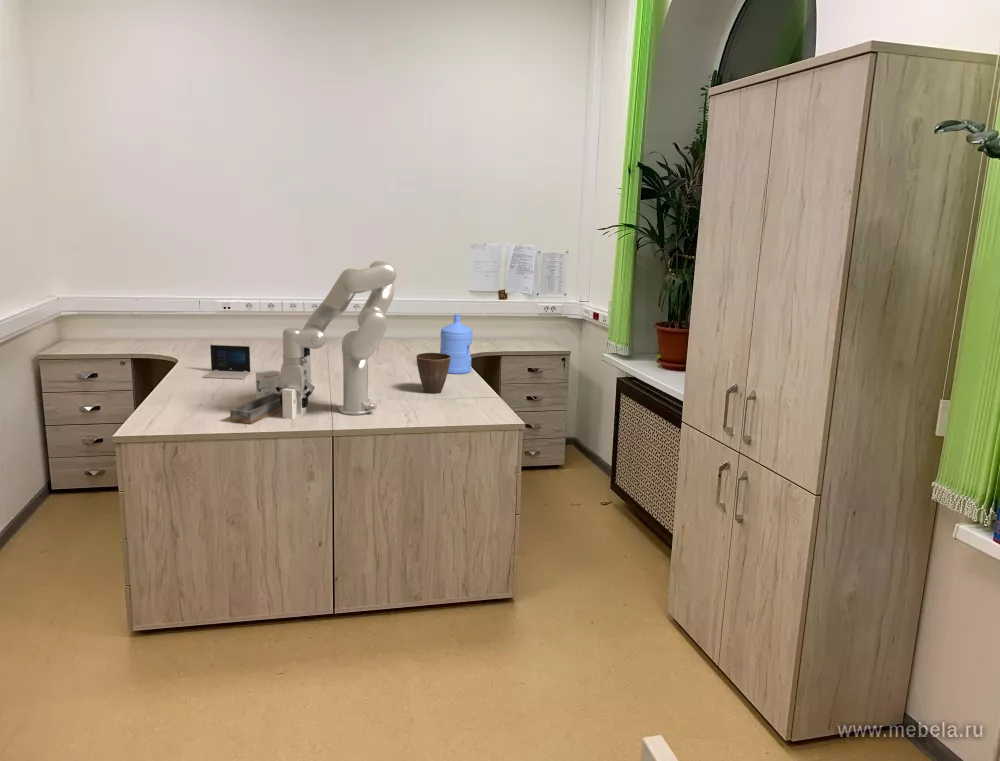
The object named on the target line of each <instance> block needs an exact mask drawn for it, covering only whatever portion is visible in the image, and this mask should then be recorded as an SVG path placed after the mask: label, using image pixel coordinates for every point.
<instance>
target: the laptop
mask: <svg viewBox="0 0 1000 761" xmlns="http://www.w3.org/2000/svg"><path fill="white" fill-rule="evenodd" d="M209 348H210V366H211V368H210V369H211V370H210V371H209V372H208V373H206V374H204V375H203V376H202V378H205V379H228V380H242V379H244V378H246V377H247V376H249V375H250V374H251V371H252V370H251V354H250V353H251V348H250V346H249V345H229V344H228V345H227V344H226V345H225V344H224V345H223V344H210V347H209Z"/></svg>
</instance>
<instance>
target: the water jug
mask: <svg viewBox="0 0 1000 761" xmlns="http://www.w3.org/2000/svg"><path fill="white" fill-rule="evenodd" d="M472 344H473V329H472V328H471V327H468V326H467V325H464V324H462V323H461V314H457V313H456V314H455V313H454V314H453V323H450V324H447V325H446V326H443V327H442V328H441V329H440V349H439V353H442V354H447V355H450V356H451V358H450V364H449V369H448V373H447V374H451V375H463V374H468V373H470V372H471V371H472V356H471V355H470V349H471V348H470V346H471V345H472Z"/></svg>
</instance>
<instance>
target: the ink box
mask: <svg viewBox="0 0 1000 761" xmlns="http://www.w3.org/2000/svg"><path fill="white" fill-rule="evenodd" d="M280 372H281V371H279V370H275V369H271V370H270V369H269V370H263V371H257V372H255V387H256V390H255V392H256V394H255V395H256V398H255V400H256V399H258V398H261V397H263V396H266V395H269V394H271V393H279V392H278V391H277V390H276V387H275V386H274V384H273V383H274V382H275V381H277V380H279V379H280ZM279 386H280V383H279Z"/></svg>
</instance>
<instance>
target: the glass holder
mask: <svg viewBox="0 0 1000 761" xmlns="http://www.w3.org/2000/svg"><path fill="white" fill-rule="evenodd" d="M304 359H306V360H307V362H306V363H304V365H306V367H307V371H308V379H309V383H310V384H312V382H313V381H312V379H311V378H312V377H311V372H312V367H311V366H312V365H311V348H304Z"/></svg>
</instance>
